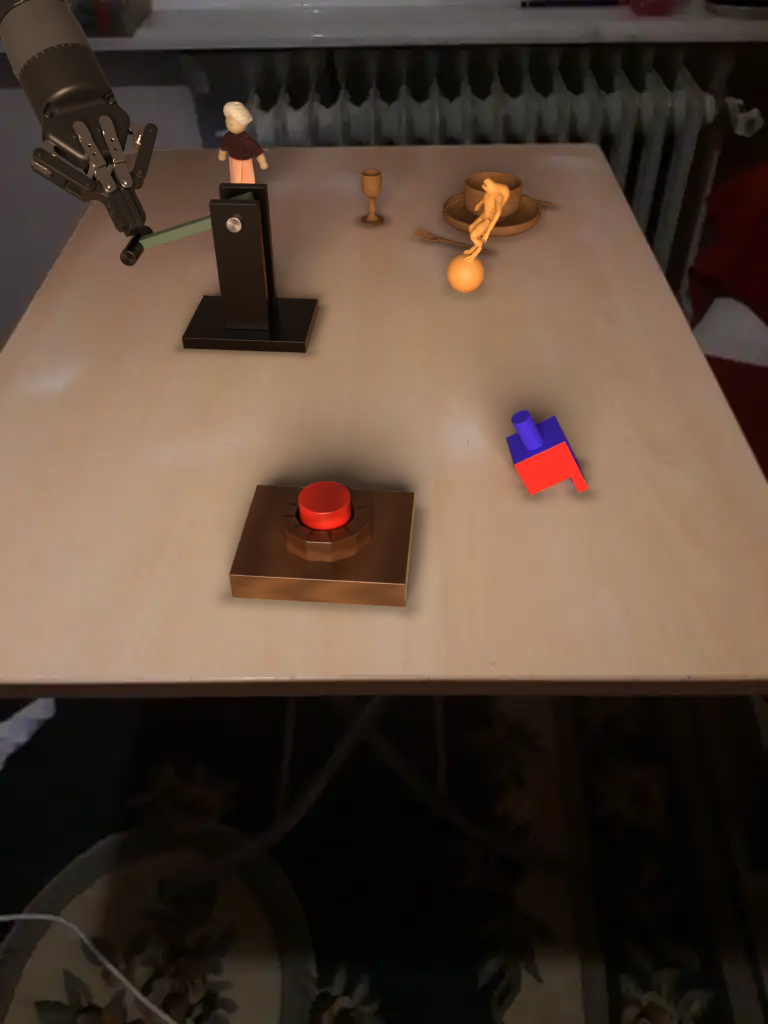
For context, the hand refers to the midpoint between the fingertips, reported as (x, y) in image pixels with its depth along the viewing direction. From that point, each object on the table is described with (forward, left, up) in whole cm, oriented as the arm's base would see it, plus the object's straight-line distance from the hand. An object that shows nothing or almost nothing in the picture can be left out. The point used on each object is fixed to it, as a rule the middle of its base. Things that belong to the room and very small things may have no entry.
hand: (136, 231), depth 90 cm
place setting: (+30, +30, -10) cm, 44 cm away
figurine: (+32, +10, -10) cm, 35 cm away
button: (+22, -33, -6) cm, 40 cm away
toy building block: (+38, -23, -10) cm, 46 cm away
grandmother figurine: (+3, +31, -10) cm, 33 cm away
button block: (+22, -33, -10) cm, 41 cm away
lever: (+6, 0, -1) cm, 6 cm away
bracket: (+10, 0, -10) cm, 14 cm away
